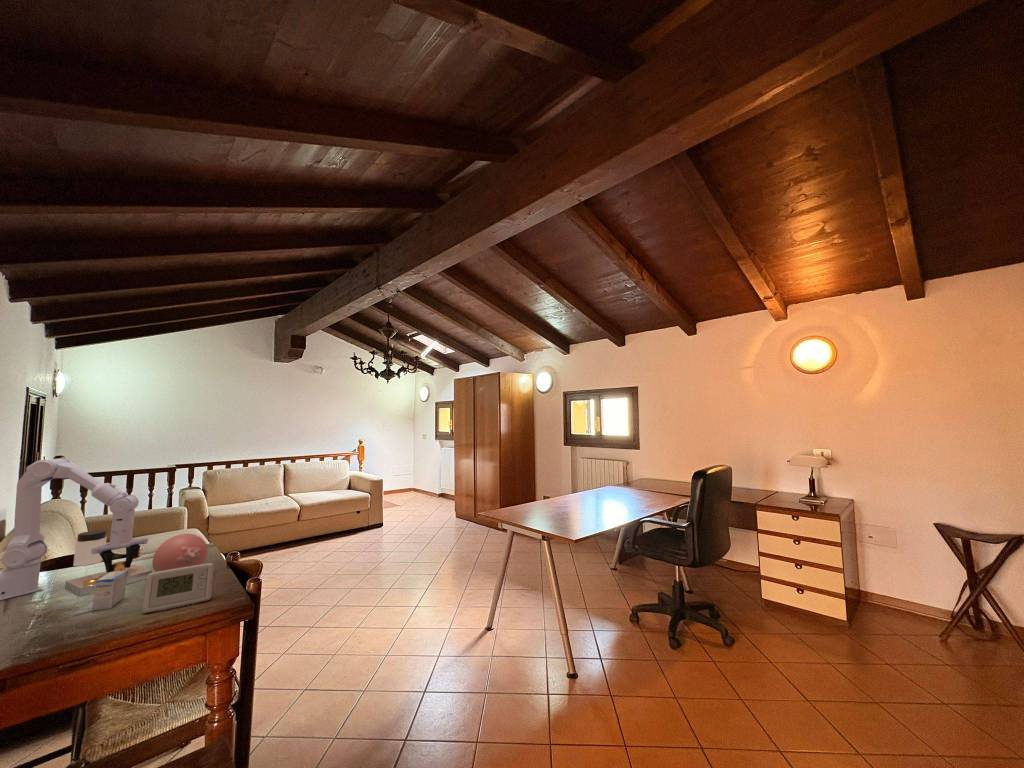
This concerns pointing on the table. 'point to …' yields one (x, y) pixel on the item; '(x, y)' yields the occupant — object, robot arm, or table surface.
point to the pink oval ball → (180, 552)
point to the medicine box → (109, 590)
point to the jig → (88, 582)
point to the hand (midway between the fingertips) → (118, 569)
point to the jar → (89, 547)
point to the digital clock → (178, 587)
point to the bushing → (118, 566)
